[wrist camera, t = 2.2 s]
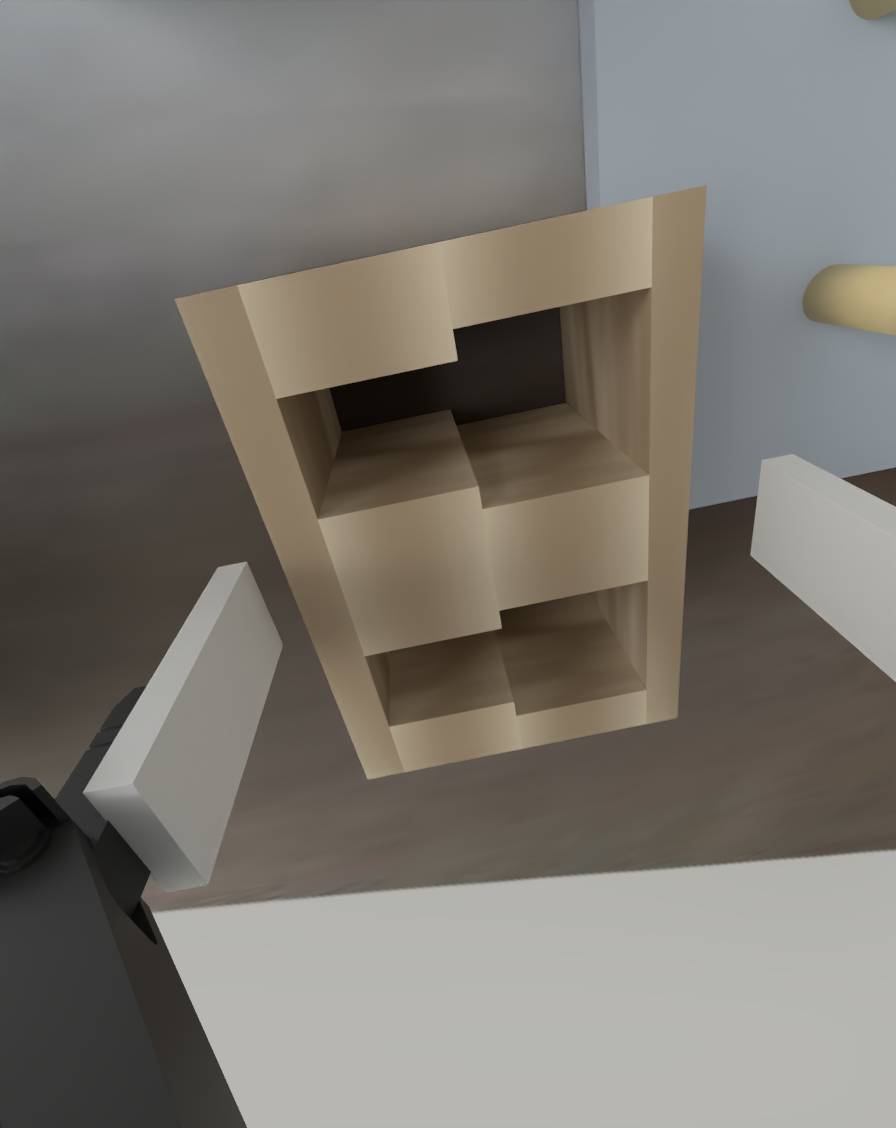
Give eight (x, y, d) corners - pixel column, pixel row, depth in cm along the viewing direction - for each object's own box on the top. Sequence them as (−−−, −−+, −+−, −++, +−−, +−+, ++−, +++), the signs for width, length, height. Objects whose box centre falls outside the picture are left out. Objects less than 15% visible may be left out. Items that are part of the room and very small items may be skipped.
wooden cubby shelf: (373, 641, 23) (367, 779, 17) (256, 281, 16) (173, 298, 10) (602, 595, 23) (677, 718, 17) (586, 210, 16) (706, 185, 10)
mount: (599, 512, 21) (642, 566, 17) (562, -380, 11) (649, -702, 7) (955, 438, 21) (1074, 479, 17) (1265, -542, 10) (1723, -958, 7)
